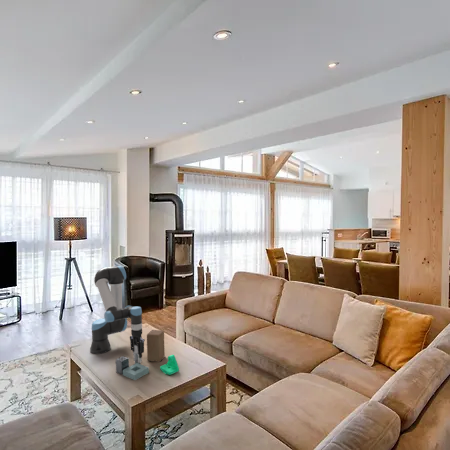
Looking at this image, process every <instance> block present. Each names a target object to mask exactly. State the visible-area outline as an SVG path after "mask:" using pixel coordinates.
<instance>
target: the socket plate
mask: <svg viewBox="0 0 450 450" xmlns="http://www.w3.org/2000/svg"><path fill="white" fill-rule="evenodd" d="M149 367H150V366H146V365H143V364H139V363H136V364H135V363H134V364H132V365H129V367H128V368H126V369H124V370H123V374H122V376H124V377H126V378H129V379H131V380H134V381H136V380H138V379H140V378H141V377H143V375H144V376H145V375H147V374H149V373H150V368H149Z"/></svg>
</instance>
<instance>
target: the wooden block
mask: <svg viewBox="0 0 450 450" xmlns="http://www.w3.org/2000/svg"><path fill="white" fill-rule="evenodd" d="M165 351H166V349H165V331H164V330H161V329H151V330H150V331H148V333H147V334H146V356H147V357H146V359H147V361H148V362H156V363H157V362H158V363H159V362H161V361H162V360H163V358H165V357H166V356H165V354H166V353H165Z"/></svg>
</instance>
